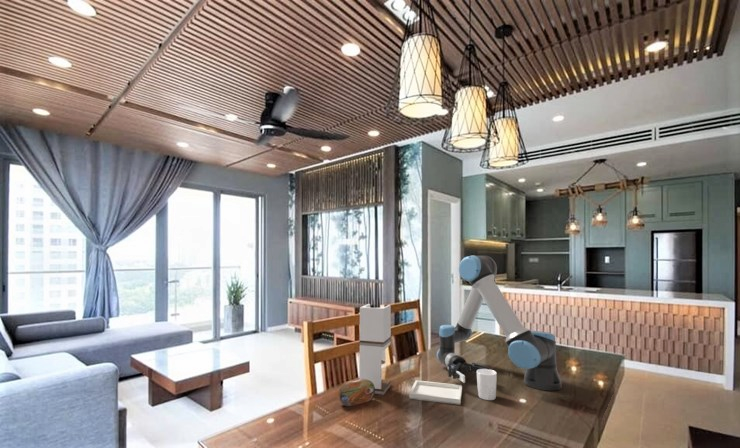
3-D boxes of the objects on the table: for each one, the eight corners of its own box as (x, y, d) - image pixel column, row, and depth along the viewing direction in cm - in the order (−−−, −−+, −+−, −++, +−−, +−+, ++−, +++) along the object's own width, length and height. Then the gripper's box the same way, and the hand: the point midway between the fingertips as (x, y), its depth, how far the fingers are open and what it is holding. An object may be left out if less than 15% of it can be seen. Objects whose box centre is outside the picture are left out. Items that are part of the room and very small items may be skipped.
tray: (462, 389, 155) (462, 385, 156) (460, 404, 140) (460, 399, 140) (415, 384, 161) (415, 380, 161) (409, 398, 146) (409, 393, 146)
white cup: (498, 401, 143) (498, 375, 144) (477, 400, 145) (477, 374, 145) (495, 394, 151) (495, 369, 152) (476, 392, 152) (475, 368, 153)
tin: (340, 408, 137) (340, 385, 138) (337, 405, 140) (337, 382, 140) (375, 400, 144) (375, 378, 145) (371, 398, 147) (371, 376, 147)
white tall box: (383, 394, 150) (383, 308, 153) (359, 391, 153) (359, 307, 156) (390, 385, 161) (390, 304, 164) (368, 382, 164) (368, 303, 167)
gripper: (479, 369, 176) (505, 384, 156) (431, 373, 171) (451, 389, 150) (479, 353, 177) (505, 366, 156) (431, 356, 171) (451, 370, 151)
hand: (478, 378), depth 153 cm, fingers open, 13 cm apart
